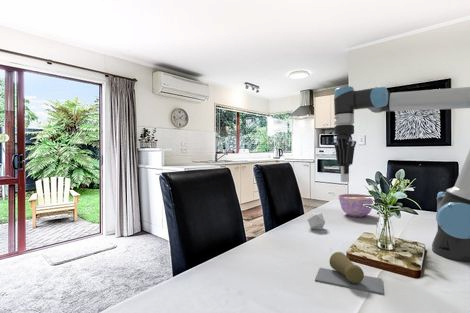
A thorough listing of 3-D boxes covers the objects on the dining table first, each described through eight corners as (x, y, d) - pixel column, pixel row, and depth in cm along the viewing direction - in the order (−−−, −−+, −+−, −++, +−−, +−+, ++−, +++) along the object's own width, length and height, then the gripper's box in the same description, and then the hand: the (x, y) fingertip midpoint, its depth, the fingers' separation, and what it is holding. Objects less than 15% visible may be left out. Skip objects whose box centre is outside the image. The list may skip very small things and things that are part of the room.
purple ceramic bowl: (375, 213, 162) (375, 195, 162) (373, 221, 145) (373, 200, 145) (341, 210, 172) (341, 193, 172) (335, 217, 155) (335, 197, 155)
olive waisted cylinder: (331, 272, 85) (349, 289, 74) (328, 254, 85) (346, 268, 74) (348, 267, 86) (369, 284, 75) (345, 250, 85) (365, 264, 75)
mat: (381, 279, 78) (381, 278, 78) (383, 294, 70) (383, 293, 70) (319, 268, 86) (319, 267, 86) (314, 280, 78) (314, 279, 78)
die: (326, 228, 134) (317, 211, 139) (330, 224, 127) (320, 206, 131) (312, 235, 133) (303, 218, 138) (315, 231, 126) (305, 213, 130)
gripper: (327, 126, 114) (328, 180, 114) (344, 123, 101) (345, 183, 101) (343, 126, 115) (344, 179, 115) (362, 123, 102) (362, 183, 102)
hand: (344, 181), depth 108 cm, fingers closed
